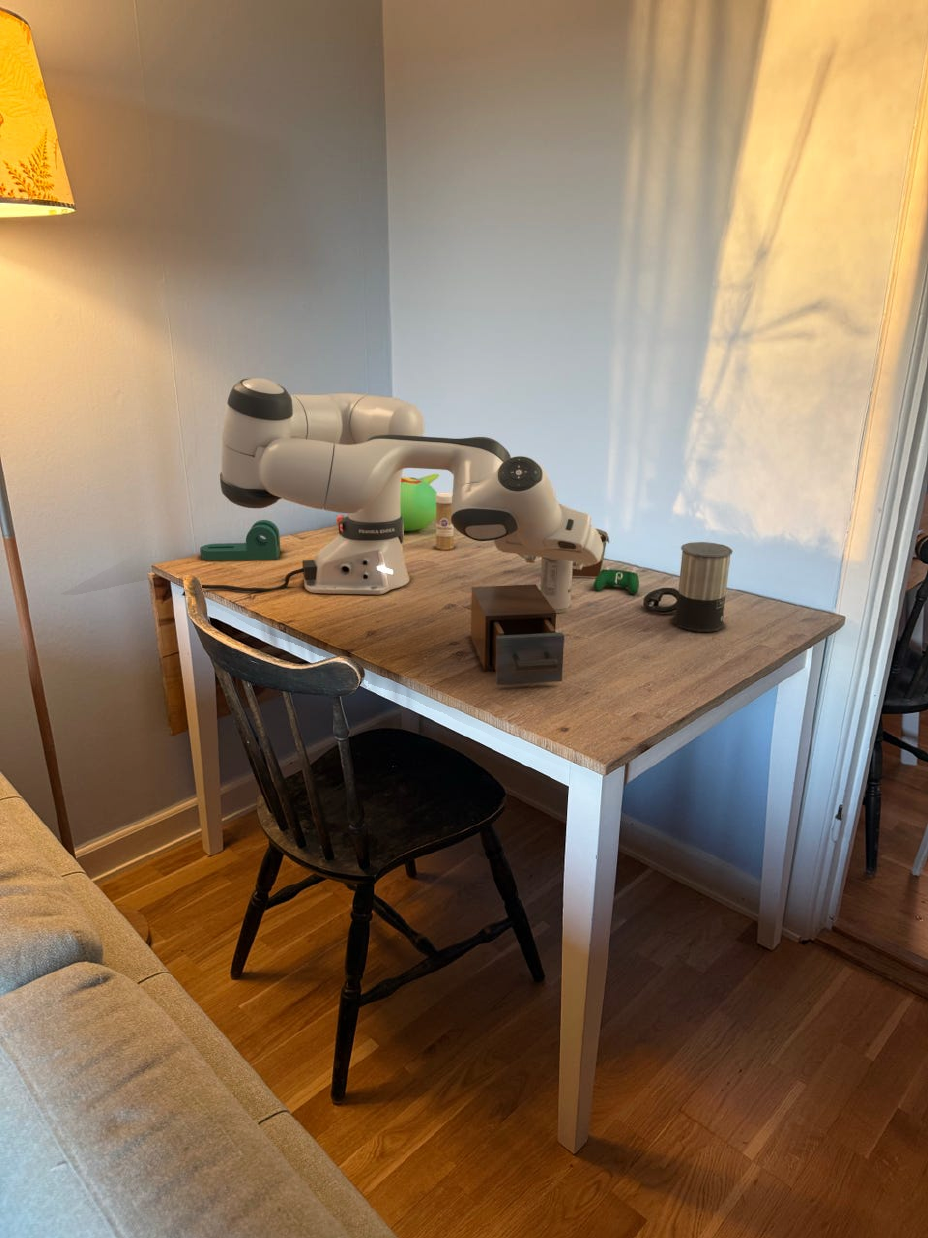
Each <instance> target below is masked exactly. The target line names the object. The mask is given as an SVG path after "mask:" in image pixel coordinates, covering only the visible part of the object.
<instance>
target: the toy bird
mask: <svg viewBox="0 0 928 1238" xmlns="http://www.w3.org/2000/svg"><path fill="white" fill-rule="evenodd" d="M439 477H440V474H439V473H434V474H428V475H426V476H422V477H419V478H417V477H406V476H402V478H401V497H400V508H401V516H402V518H403V525H404V532H413V531H418V530H422V529H425V528H426V527H429V526H430V525H431V524H432V523H433V522H434V521H436V494H437V493H438V492H437V491H436V490H435V488H434V487H433V486H431V484H432V483H433V482H435V480H437V479H438V478H439Z"/></svg>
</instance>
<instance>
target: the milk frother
mask: <svg viewBox="0 0 928 1238" xmlns="http://www.w3.org/2000/svg"><path fill="white" fill-rule="evenodd" d="M680 550H681V551H682V552H681V560H680V561H681V562H680V572H679V582H678V589H676V588H673V587H661V588H656V589H654V590H652V591H650V592H648V593H647V594H646V595H645V596H644V598H643V606H644V608H645V609H647V610H648V611H650V612H654V613H659V614H668V613H672V612H675V615H674V617H673V618H672V619H673V620H672V621H673V623H674V624H675V625H676V626H677V627H679V628H680V629H685V630H687V631H690V632H691V631H693V632H699V633H700V632H701V633H711V632H717V631H720V630H721V629H723V627H724V626H725V623H724V617H725V614H724V613H725V605H726V604H725V603H726V594H727V585H728V578H729V570H730V563H731V555H732V554H733V549H732V548H731V547H729V546H727V545H724V544H721V543H715V542H709V541H707V542H706V541H696V542H695V541H693V542H688V543H684V544H682V545H681V546H680ZM667 595H668V596H672V597H673V598H675V600H676V602H674V603H673V604H671V605H669V606H659V605H660V602H661V601H662V598H663V596H667Z"/></svg>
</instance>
